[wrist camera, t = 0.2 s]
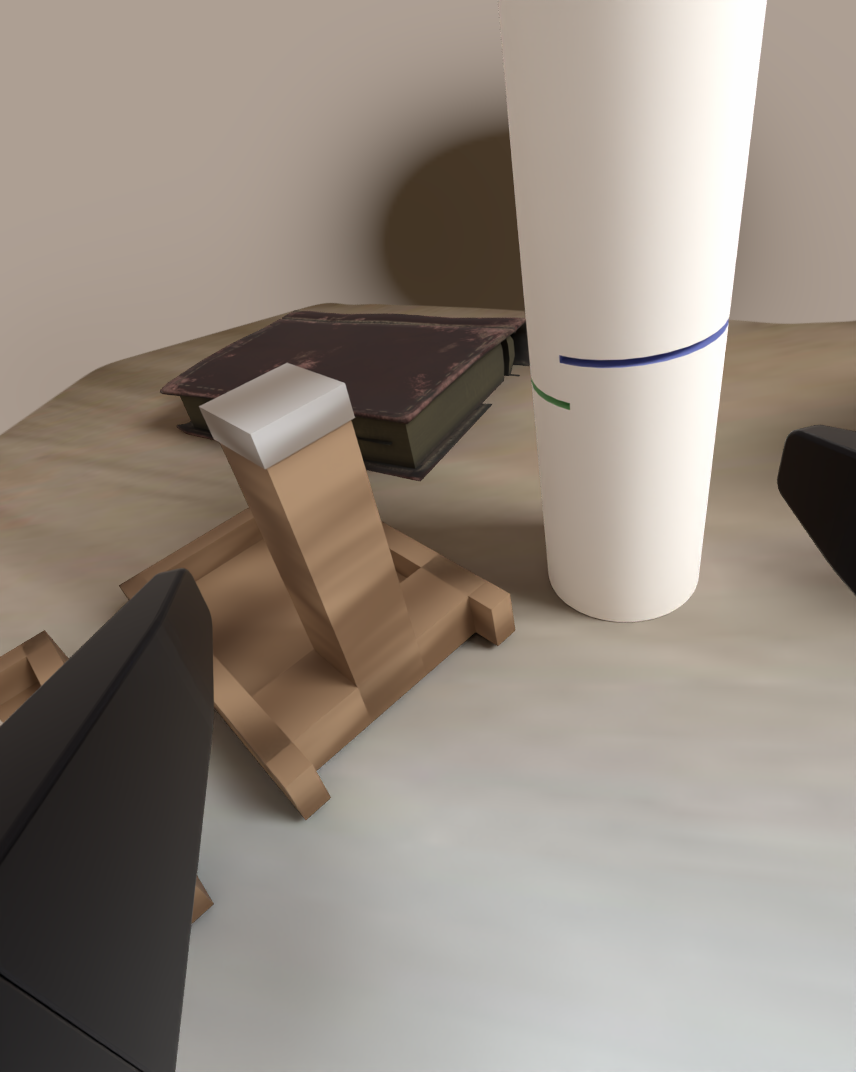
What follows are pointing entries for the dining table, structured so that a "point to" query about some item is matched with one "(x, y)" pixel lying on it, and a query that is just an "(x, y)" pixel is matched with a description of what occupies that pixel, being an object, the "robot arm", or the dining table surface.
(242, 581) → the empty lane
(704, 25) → the cylindrical container
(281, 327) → the diary
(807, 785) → the dining table surface
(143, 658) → the robot arm
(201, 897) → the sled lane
